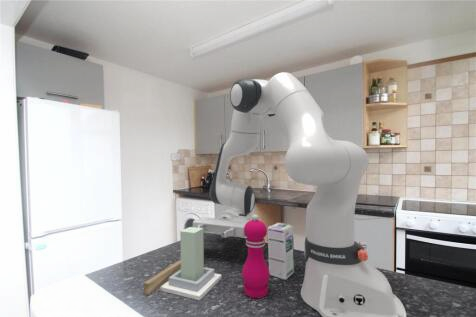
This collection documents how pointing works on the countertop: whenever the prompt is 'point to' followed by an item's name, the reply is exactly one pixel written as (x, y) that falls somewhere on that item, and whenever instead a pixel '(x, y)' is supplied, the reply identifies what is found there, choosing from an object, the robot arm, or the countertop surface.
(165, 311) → the countertop surface
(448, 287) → the countertop surface
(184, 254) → the sage bar
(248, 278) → the pepper mill
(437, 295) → the countertop surface
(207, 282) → the grey keeper socket
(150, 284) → the oak board
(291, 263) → the syrup box
